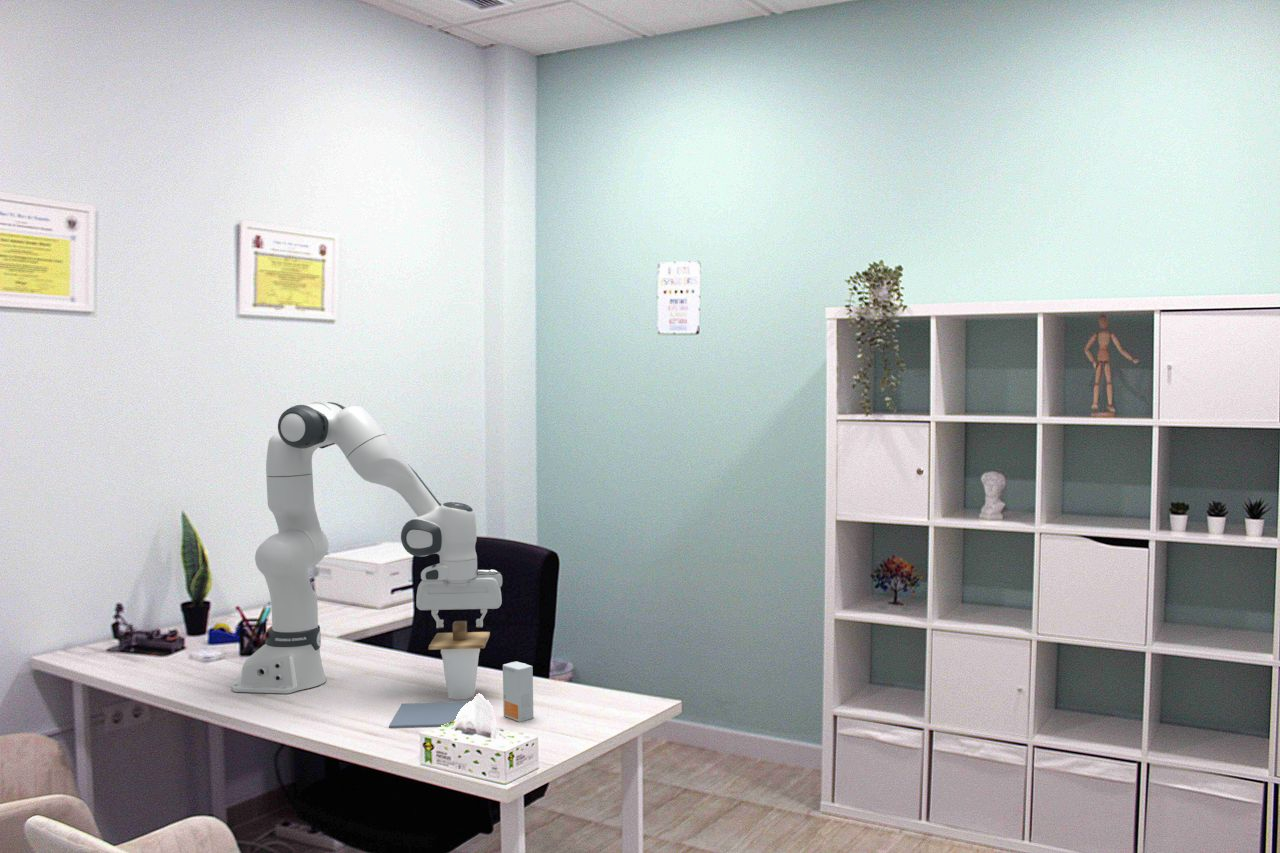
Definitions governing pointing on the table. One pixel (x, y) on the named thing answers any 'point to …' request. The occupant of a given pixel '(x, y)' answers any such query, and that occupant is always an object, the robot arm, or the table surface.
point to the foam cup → (460, 671)
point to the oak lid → (459, 638)
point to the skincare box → (518, 691)
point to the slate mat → (426, 714)
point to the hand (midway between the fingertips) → (459, 627)
